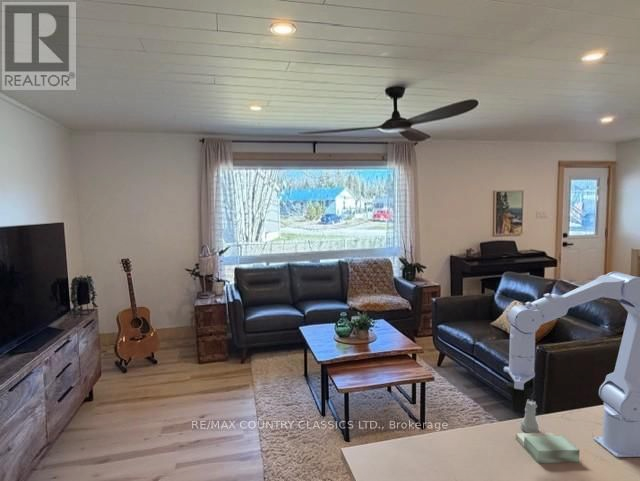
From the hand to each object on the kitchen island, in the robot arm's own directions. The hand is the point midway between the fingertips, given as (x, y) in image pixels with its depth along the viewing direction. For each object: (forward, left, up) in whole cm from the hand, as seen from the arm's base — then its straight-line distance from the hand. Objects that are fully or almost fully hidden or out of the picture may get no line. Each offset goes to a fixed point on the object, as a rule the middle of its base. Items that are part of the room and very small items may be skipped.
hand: (520, 405), depth 103 cm
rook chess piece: (-6, -6, -10) cm, 13 cm away
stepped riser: (-5, +3, -10) cm, 12 cm away
